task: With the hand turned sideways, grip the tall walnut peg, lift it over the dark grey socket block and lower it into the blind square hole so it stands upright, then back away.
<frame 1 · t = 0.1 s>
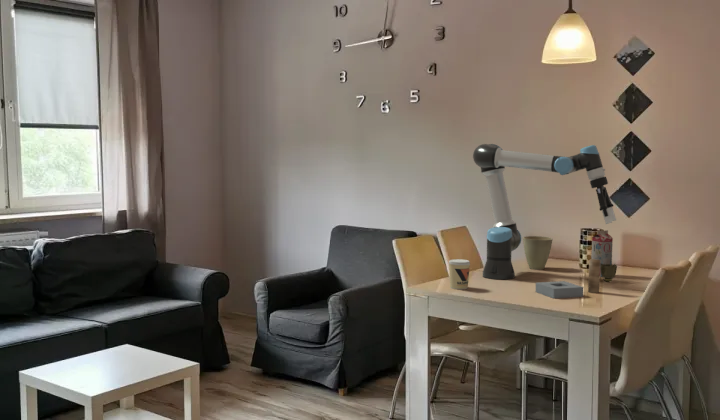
hand: (611, 222, 322), 28 cm above the table, tool tilted 20°, fingers open, 13 cm apart
walnut peg: (593, 292, 299), on the table
plant pot: (536, 268, 360), on the table
coffee cup: (458, 288, 307), on the table
cup: (608, 281, 325), on the table
socket block: (558, 294, 295), on the table
juice carton: (601, 275, 341), on the table
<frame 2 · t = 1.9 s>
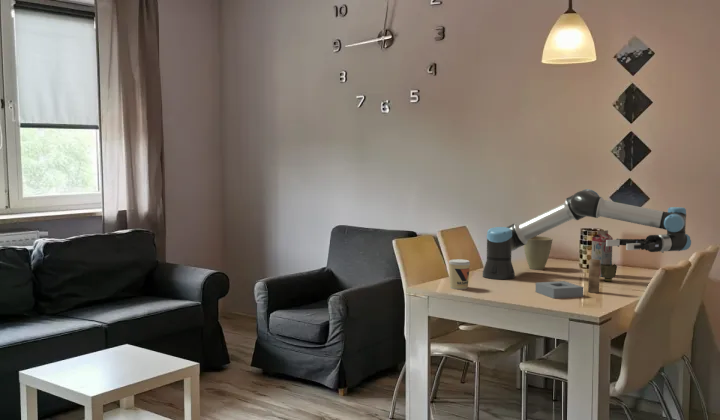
hand: (616, 245, 301), 20 cm above the table, tool horizontal, fingers open, 13 cm apart
nothing on the table moved.
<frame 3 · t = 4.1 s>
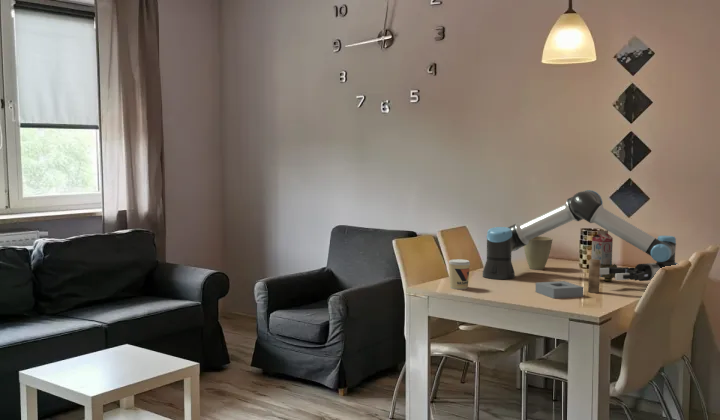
hand: (605, 274, 300), 8 cm above the table, tool horizontal, fingers open, 13 cm apart
nothing on the table moved.
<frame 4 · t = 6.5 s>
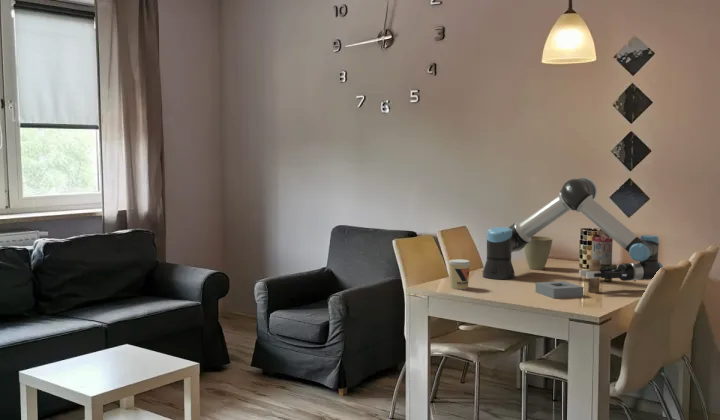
hand: (583, 274, 297), 8 cm above the table, tool horizontal, fingers closed on walnut peg, 4 cm apart
walnut peg: (593, 292, 299), on the table, touching gripper
everything else where it was.
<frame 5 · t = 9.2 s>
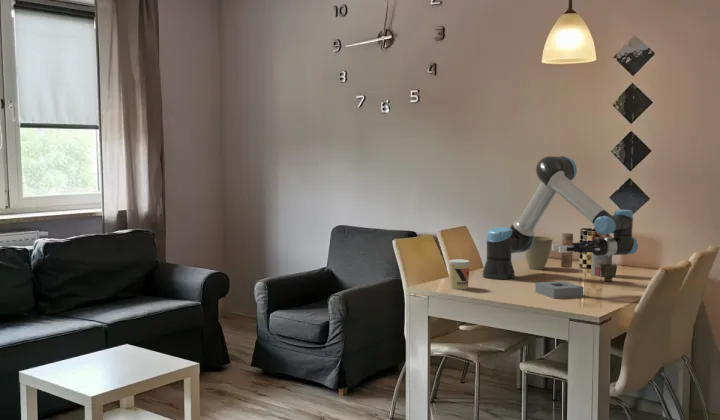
hand: (556, 248, 292), 20 cm above the table, tool horizontal, fingers closed on walnut peg, 4 cm apart
walnut peg: (566, 266, 294), point 12 cm above the table, touching gripper
everything else where it was.
when the fingers open (10 cm above the table, at t = 12.2 s): walnut peg stays where it is, resting on socket block.
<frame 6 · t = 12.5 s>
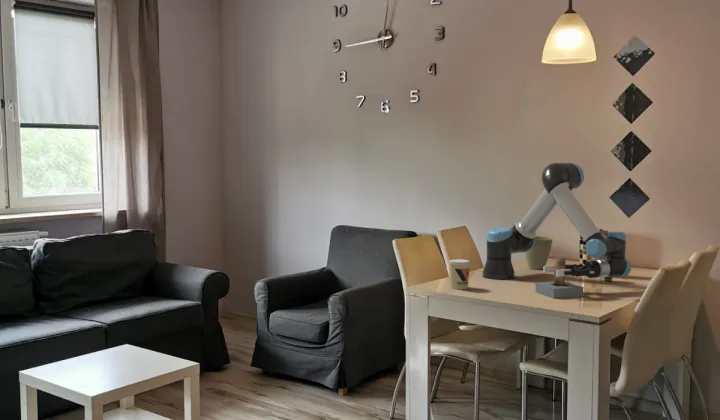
hand: (550, 271, 292), 10 cm above the table, tool horizontal, fingers open, 9 cm apart
walnut peg: (559, 291, 294), point 1 cm above the table, touching socket block
everything else where it was.
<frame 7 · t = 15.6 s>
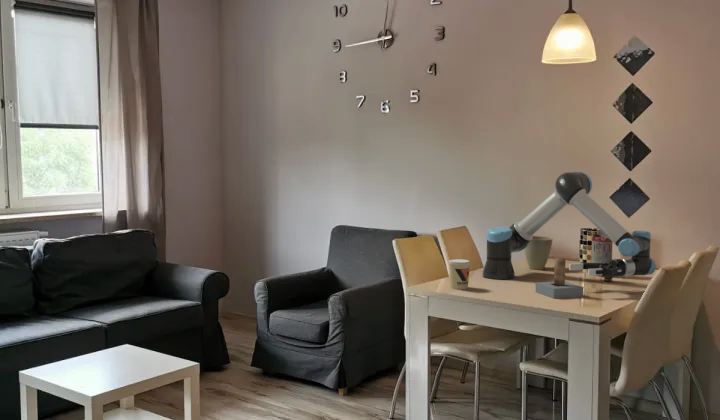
hand: (578, 269, 296), 10 cm above the table, tool horizontal, fingers open, 13 cm apart
nothing on the table moved.
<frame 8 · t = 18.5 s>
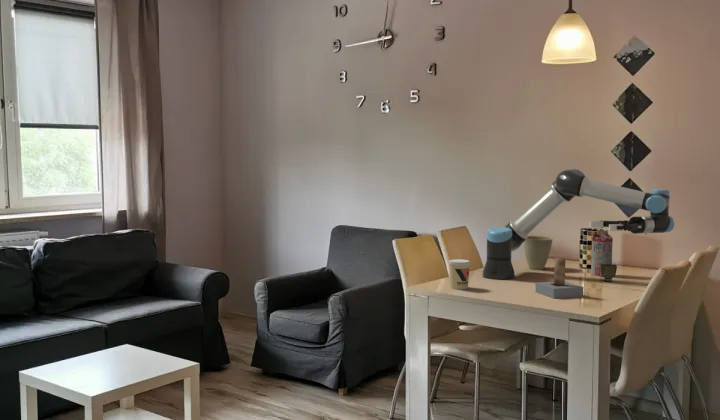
hand: (599, 226, 302), 28 cm above the table, tool horizontal, fingers open, 13 cm apart
nothing on the table moved.
at the end: walnut peg 0.0 cm off-centre on the socket block, point 1.0 cm above the socket block's base; walnut peg tilted 0°; the gripper is holding nothing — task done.
